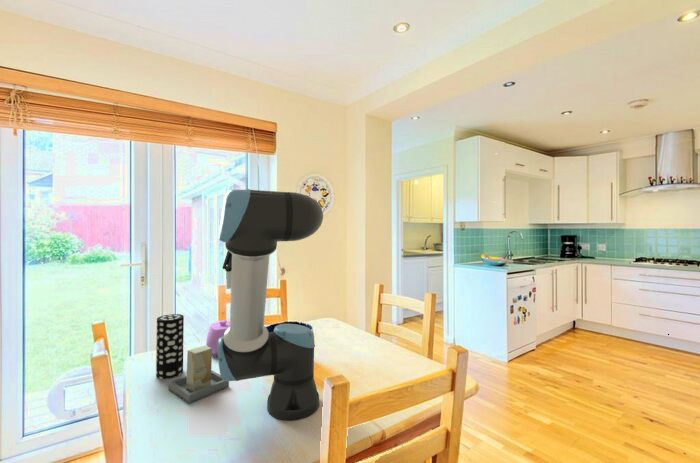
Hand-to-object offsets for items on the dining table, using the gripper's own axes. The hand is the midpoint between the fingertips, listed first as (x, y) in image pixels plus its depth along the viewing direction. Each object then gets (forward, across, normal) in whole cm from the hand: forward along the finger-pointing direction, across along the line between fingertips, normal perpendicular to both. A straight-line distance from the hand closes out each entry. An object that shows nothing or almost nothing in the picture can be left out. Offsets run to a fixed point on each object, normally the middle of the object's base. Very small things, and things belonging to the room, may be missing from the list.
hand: (241, 290), depth 119 cm
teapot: (+29, +19, -5) cm, 35 cm away
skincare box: (+28, -3, +17) cm, 33 cm away
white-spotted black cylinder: (+29, +15, +18) cm, 37 cm away
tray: (+29, -3, +17) cm, 34 cm away
